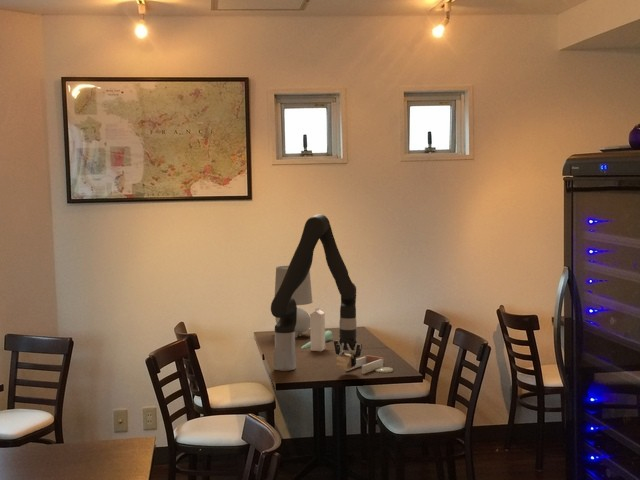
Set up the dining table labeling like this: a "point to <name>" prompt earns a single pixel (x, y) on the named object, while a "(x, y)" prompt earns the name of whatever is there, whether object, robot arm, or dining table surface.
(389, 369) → the coaster
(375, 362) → the channel
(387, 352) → the dining table surface
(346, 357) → the block
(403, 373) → the dining table surface
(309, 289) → the table lamp
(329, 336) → the long green cone
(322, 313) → the milk
